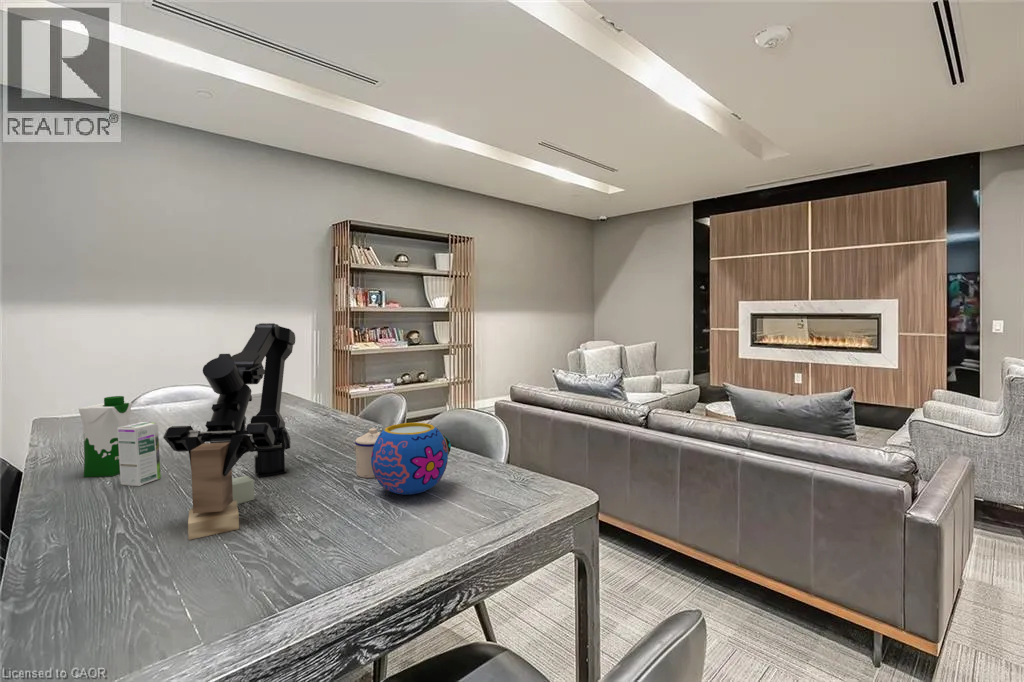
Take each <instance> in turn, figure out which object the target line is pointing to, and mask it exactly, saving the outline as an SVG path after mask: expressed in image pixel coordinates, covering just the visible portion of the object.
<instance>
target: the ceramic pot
mask: <svg viewBox="0 0 1024 682" xmlns="http://www.w3.org/2000/svg"><path fill="white" fill-rule="evenodd" d="M451 447H452V446H451V441H450V439H449V438H448V437H447V436H445V435H443V434H442V433H441V431H440V430H439V429H438V428H437V427H436V426H434V425H432V424H429V423H425V422H404V423H396V424H393V425H390V426H387V427H385V428H384V429H383V430H382V431H381V432H380V435H379V436H378V438H377V440H376V442H375V444H374V447H373V451H372V457H371V465H372V469H373V473H374V475H375V478H376V481H377V482H378V484H379V485H380V486H381V487H382V488H383V489H385V490H386V491H388V492H391V493H394V494H398V495H403V496H404V495H407V496H409V495H417V494H421V493H424V492H425V491H427V490H430V489H432V488H433V487H435V486H436V485H437V484H438V483H439V482H440V481H441V479H442V477H444V476H443V475H444V474H445V473H446V469H447V465H448V459H449V454H450V452H451Z"/></svg>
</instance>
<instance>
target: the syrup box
mask: <svg viewBox="0 0 1024 682" xmlns="http://www.w3.org/2000/svg"><path fill="white" fill-rule="evenodd" d="M117 431H118V447H119V463H120V473H119V476H120V485H121V486H129V487H131V486H132V487H141V486H143V485H146V484H148V483H151V482H154V481H158V480H160V479H161V477H162V475H161V459H160V458H161V457H160V441H159V424H158V422H153V421H143V422H141V421H139V422H137V423H132V424H129V425H127V426H123V427H118V428H117Z"/></svg>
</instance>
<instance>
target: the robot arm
mask: <svg viewBox="0 0 1024 682" xmlns="http://www.w3.org/2000/svg"><path fill="white" fill-rule="evenodd" d="M295 344H296V334H295V332H294V331H293V330H292V329H290V328H287V327H284V326H281V325H279V324H276V323H274V322H273V323H268V322H267V323H265V322H262V323H257V324H255V326H254V331H253V333H252V335H251V336H250V338H249V339H248V341H247V342H246V344H245V345H244V347H243V349H242V350H241V351H240V352H237V353H235V354H232V355H231V353H219V354H218V357H215V358H212V359H211V360H209V361H208V362H206V363H205V364H204V365H203V367H202V374H203V375H204V377H205V379H206V381H207V383H209V386H210V387H211V389H212V391H213V392H214V393H216V394H218V399H217V402H216V403H213V404H212V406H211V410H212V411H213V412H212V416H211V418H210V420H209V421H208V420H207V421H206V423H205V425H204V426H205V427H206V429H207V430H206V431H200V430H196V429H194V428H193V427H192V425H174V426H173V425H171V426H169V427H168V428H166V430H165V432H164V435H163V436H162V437H163V439H164V440H165V442H166V443H167V444H168V445H169V446H170V448H171V449H172V450H173V451H175V452H177V453H178V452H179V453H180V452H188V455H189V462H190V465H191V450H193V449H194V448H196V447H198V446H200V445H201V444H203V443H224V442H230V444H229V448H228V452H227V455H226V459H225V462H224V467H223V475H224V476H226V475H227V474H228V473H229V472H230V470H231V469H232V470H233V468H234V467H235V465H236V464H237V462H238V461H239V460H240V459H241V458H242V456H243V455H245V454H246V453H249V452H250V453H253V452H254V453H256V455H254V457H253V458H254V459H253V461H254V462H253V463H254V473H255V474H256V475H257V478H263V477H268V476H275V475H279V474H280V475H281V474H285V473H287V470H286V468H285V467H286V466H285V465H286V463H285V461H286V459H285V451H286V450H289V449H291V436H290V435H289V432H288V430H287V428H286V421H285V420H284V417H282V414H281V404H282V393H283V382H284V381H283V380H284V374H285V373H284V371H285V363H286V360H287V359H288V358H289V356H290V355H291V354H292V353H293V349H294V345H295ZM264 360H265V361H264ZM263 361H264V363H265V364H264V365H263ZM262 379H263V381H262V390H261V396H260V397H261V400H260V407H259V412H257V414H256V415H252V416H251V418H250V423H248V424H247V425H246V422H247V417H246V416H245V415H246V413H247V412H246V411H247V409H248V404H249V402H252V401H253V396H252V388H250V386H249V385H258V384H259V383H260V382H261V380H262Z"/></svg>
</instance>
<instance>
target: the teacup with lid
mask: <svg viewBox="0 0 1024 682" xmlns="http://www.w3.org/2000/svg"><path fill="white" fill-rule="evenodd" d="M380 433H381V432H380V431H378V430H377V428H376V427H375V428H373V427H372V428H369V430H368V432H366V433H364V434H362V435H361V436H359V437H357V438H356V439H355V441H354V444H355V445H354V454H355V460H356V461H355V465H356V466H355V467H356V469H355V470H356V475H357V476H358V477H361V478H364V479H365V478H366V479H371V478H372V479H373V478H376V477H375V475H374V473H373V469H372V465H371V457H372V451H373V447H374V444H375V442H376V440H377V438H378V436H379V435H380Z"/></svg>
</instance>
